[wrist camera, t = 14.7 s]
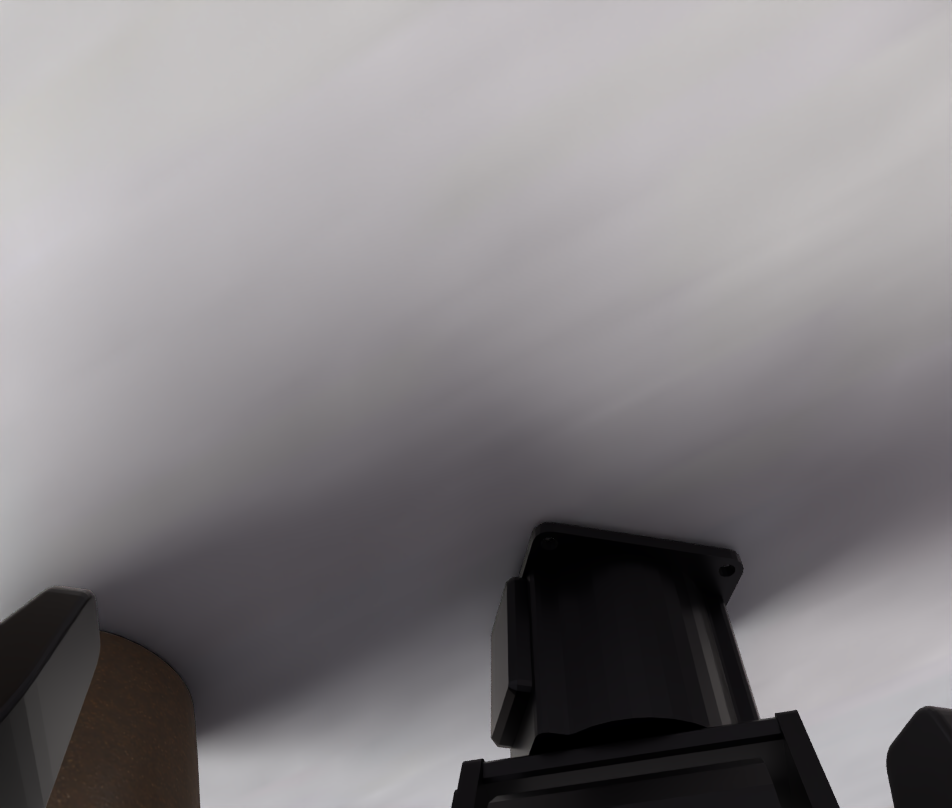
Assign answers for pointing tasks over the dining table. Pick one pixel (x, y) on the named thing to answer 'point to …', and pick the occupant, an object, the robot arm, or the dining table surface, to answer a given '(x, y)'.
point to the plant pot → (131, 736)
